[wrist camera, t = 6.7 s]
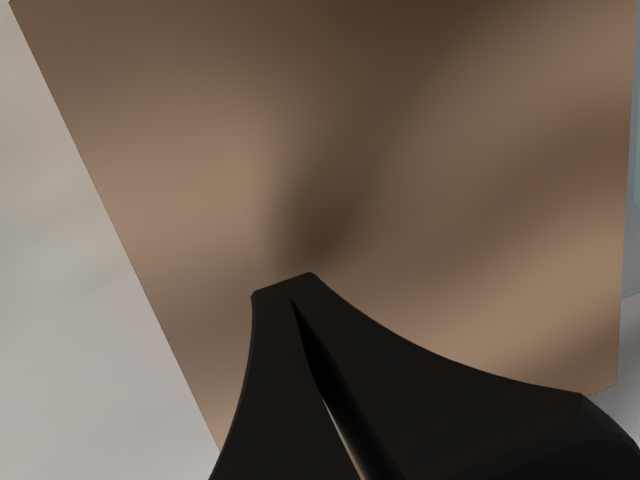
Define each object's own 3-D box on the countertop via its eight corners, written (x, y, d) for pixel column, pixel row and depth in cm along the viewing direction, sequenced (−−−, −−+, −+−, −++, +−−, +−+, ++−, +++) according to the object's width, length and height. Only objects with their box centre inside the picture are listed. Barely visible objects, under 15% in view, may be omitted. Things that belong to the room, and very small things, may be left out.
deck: (541, 313, 23) (615, 384, 19) (235, 432, 21) (257, 532, 18) (526, -155, 15) (646, -174, 11) (36, -22, 13) (8, 2, 10)
